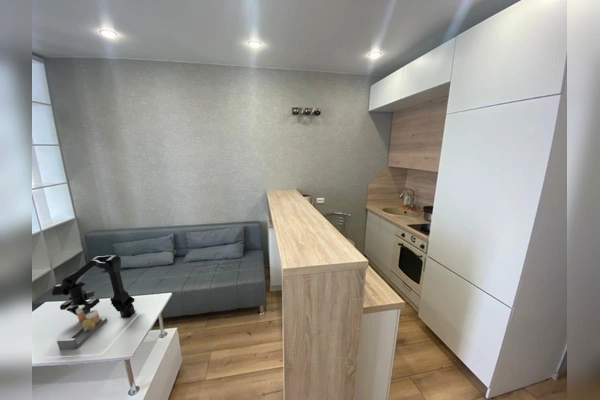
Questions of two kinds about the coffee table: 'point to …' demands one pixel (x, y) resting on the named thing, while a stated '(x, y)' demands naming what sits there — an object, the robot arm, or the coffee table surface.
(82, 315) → the jar
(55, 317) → the coffee table surface
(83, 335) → the tray
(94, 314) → the jar
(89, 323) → the yellow lumpy piece
